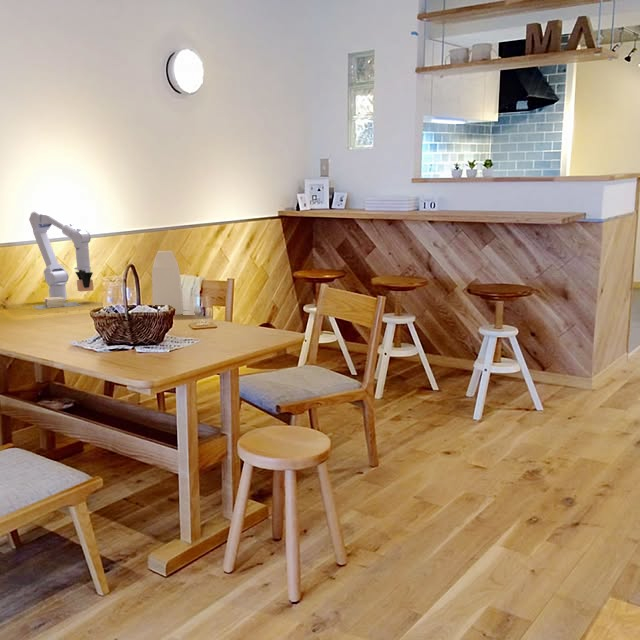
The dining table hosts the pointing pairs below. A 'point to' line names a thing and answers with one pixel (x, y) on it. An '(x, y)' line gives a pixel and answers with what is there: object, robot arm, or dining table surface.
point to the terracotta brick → (81, 286)
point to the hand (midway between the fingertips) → (85, 287)
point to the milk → (167, 281)
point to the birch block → (54, 302)
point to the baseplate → (57, 307)
